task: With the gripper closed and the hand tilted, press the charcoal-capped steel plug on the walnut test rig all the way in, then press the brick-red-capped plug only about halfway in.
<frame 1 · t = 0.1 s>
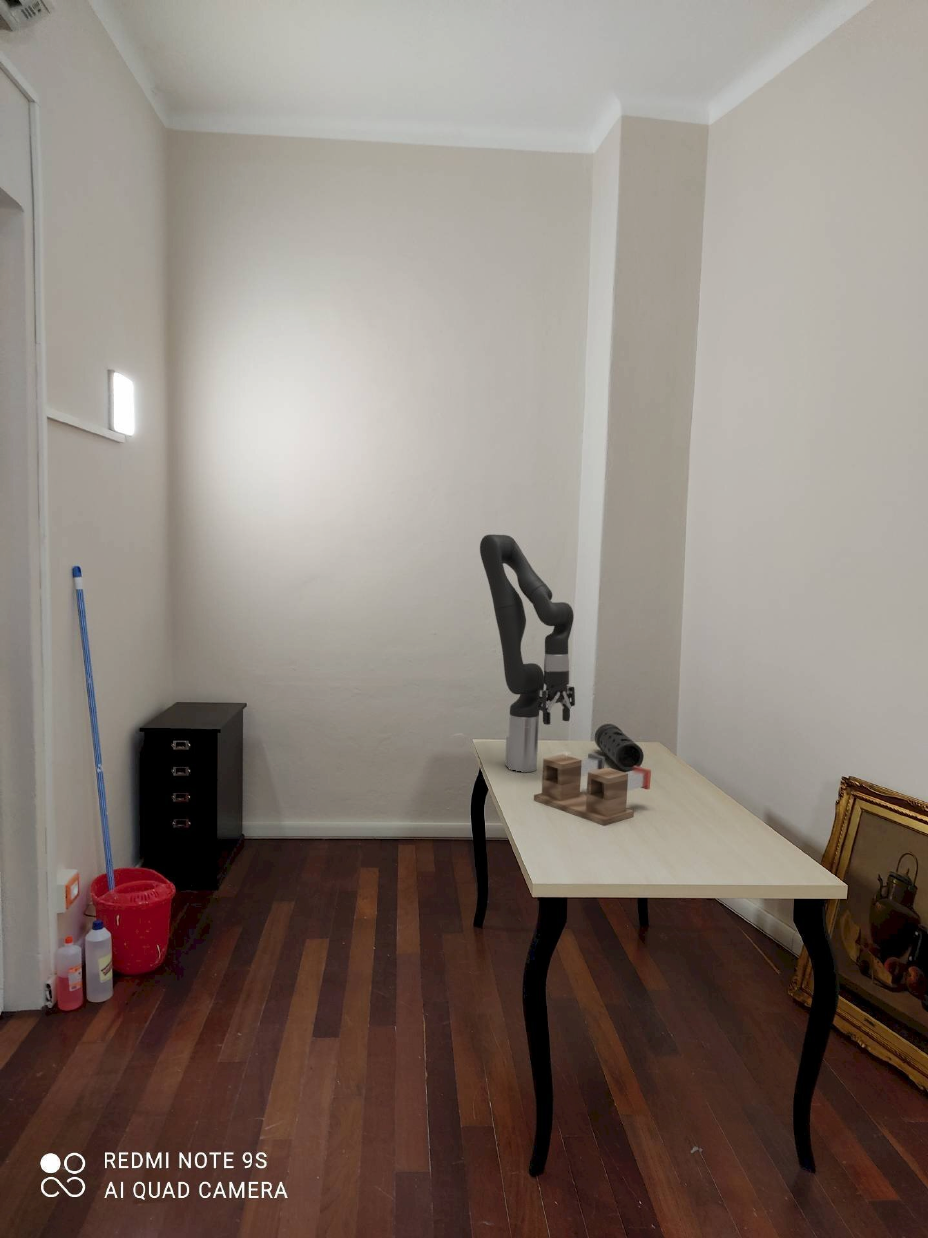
hand: (556, 722, 254), 17 cm above the table, tool pointing down, fingers open, 8 cm apart
muzzle brake: (616, 763, 278), on the table
test rig: (582, 808, 229), on the table
charcoal plug: (580, 768, 239), point 8 cm above the table, slide at 0.0 cm
red plug: (625, 781, 227), point 8 cm above the table, slide at 0.0 cm
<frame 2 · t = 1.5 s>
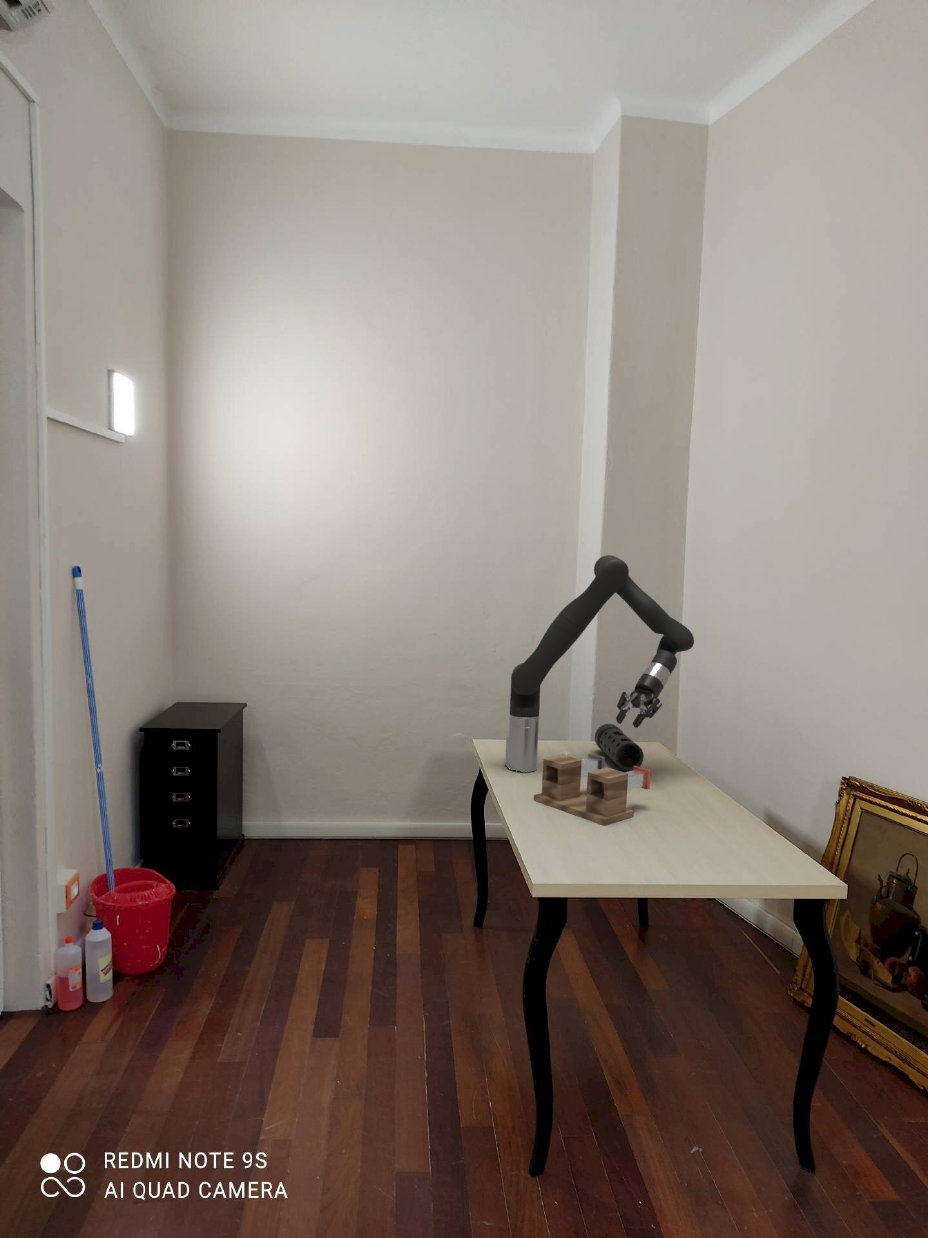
hand: (626, 723, 251), 18 cm above the table, tool tilted 45°, fingers open, 5 cm apart
nothing on the table moved.
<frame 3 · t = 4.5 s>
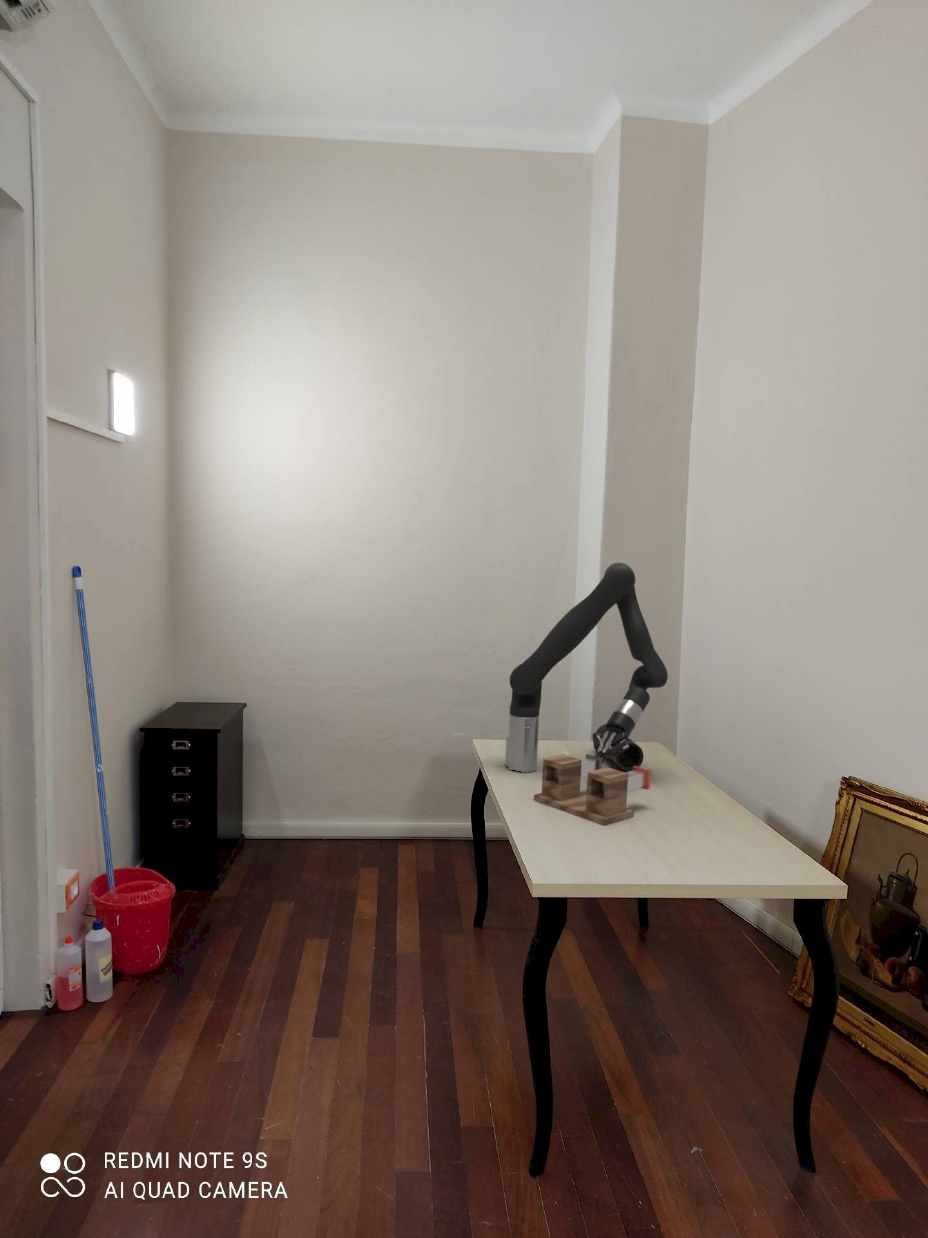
hand: (595, 764, 244), 8 cm above the table, tool tilted 45°, fingers closed
charcoal plug: (577, 768, 238), point 8 cm above the table, slide at 1.1 cm, touching gripper
everything else where it was.
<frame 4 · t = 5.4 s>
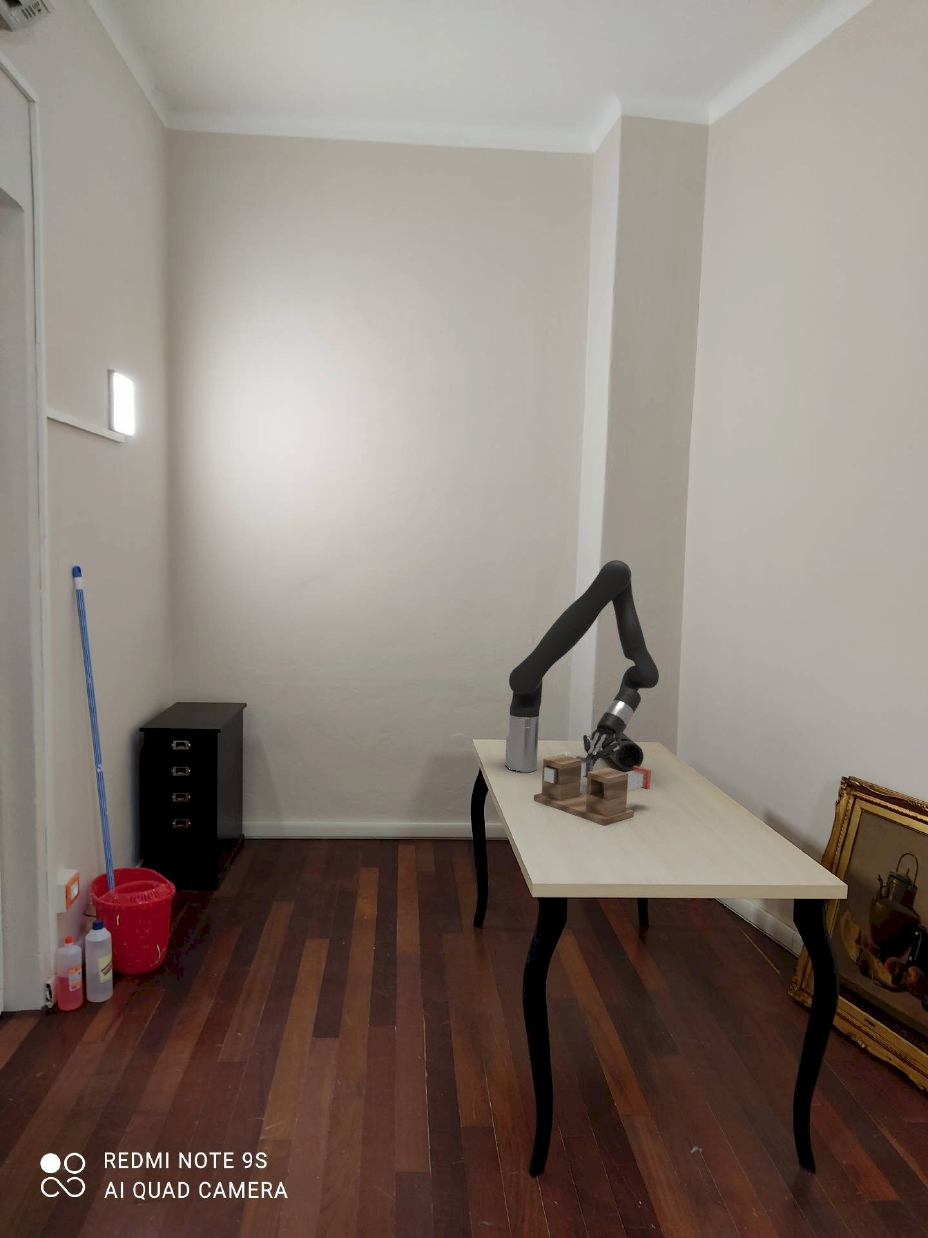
hand: (586, 767, 241), 8 cm above the table, tool tilted 45°, fingers closed
charcoal plug: (567, 771, 236), point 8 cm above the table, slide at 5.2 cm, touching gripper
everything else where it was.
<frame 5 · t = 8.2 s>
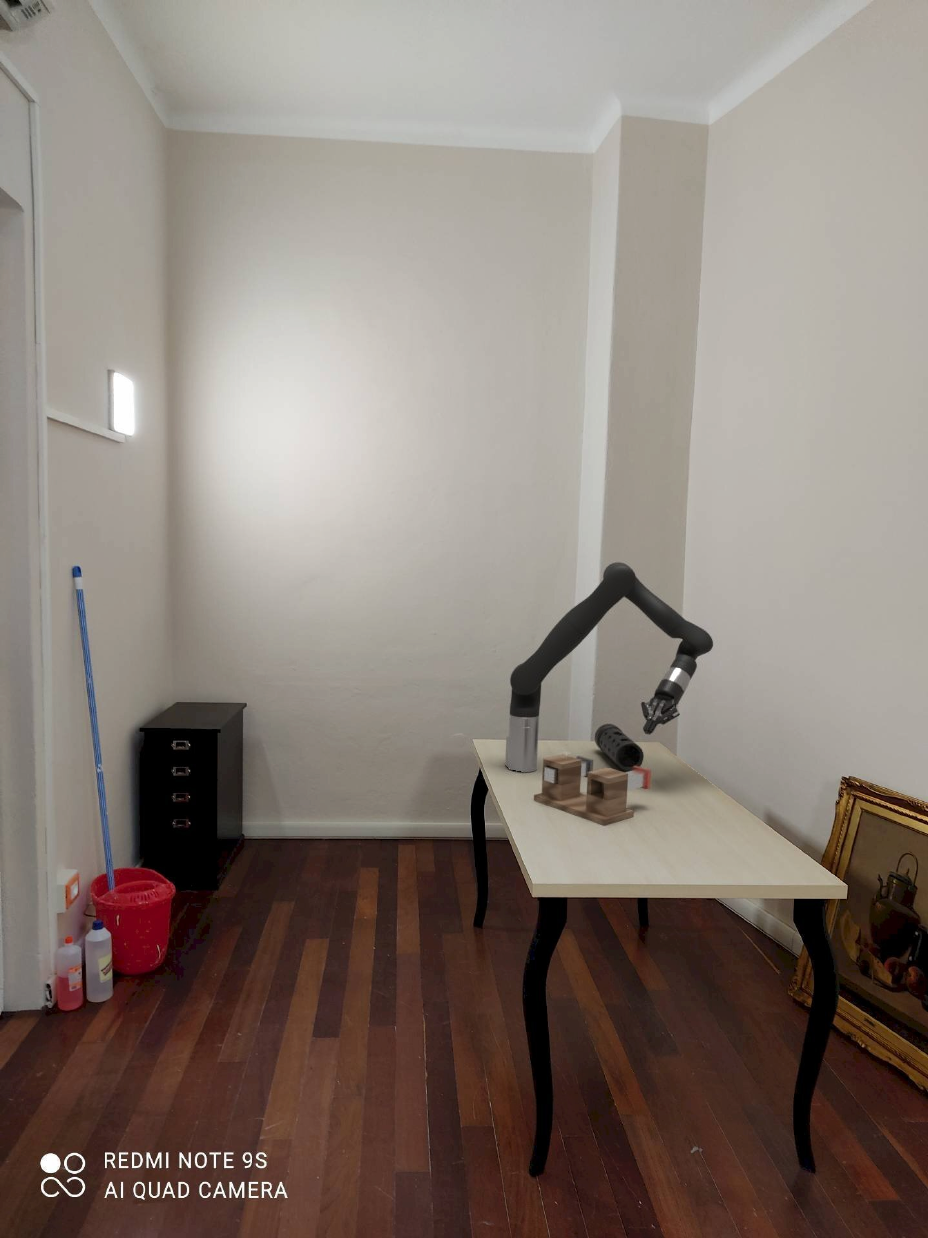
hand: (646, 732, 244), 18 cm above the table, tool tilted 45°, fingers closed
charcoal plug: (567, 771, 236), point 8 cm above the table, slide at 5.1 cm
everything else where it was.
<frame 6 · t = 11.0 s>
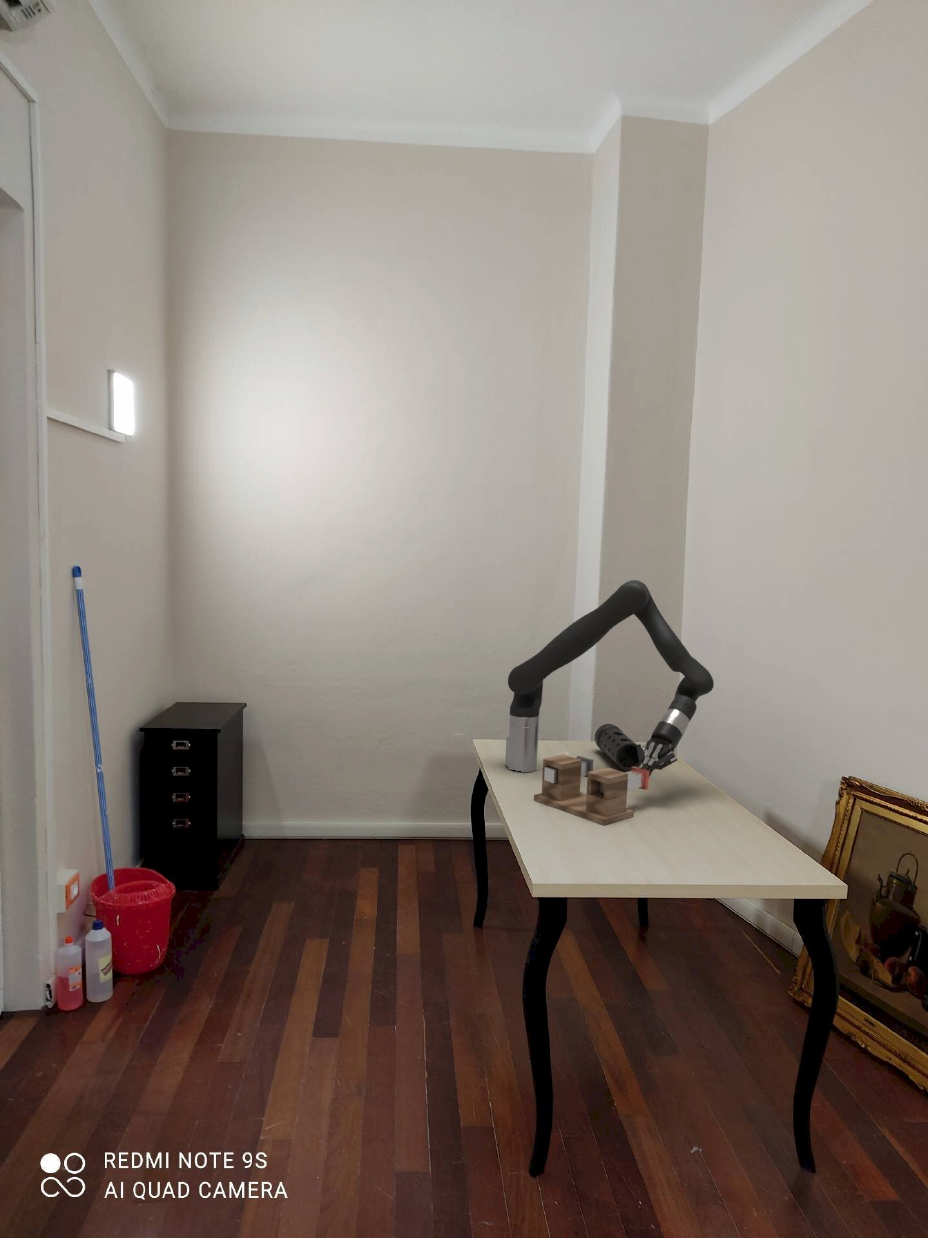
hand: (641, 778, 232), 8 cm above the table, tool tilted 45°, fingers closed
red plug: (623, 782, 227), point 8 cm above the table, slide at 0.8 cm, touching gripper
everything else where it was.
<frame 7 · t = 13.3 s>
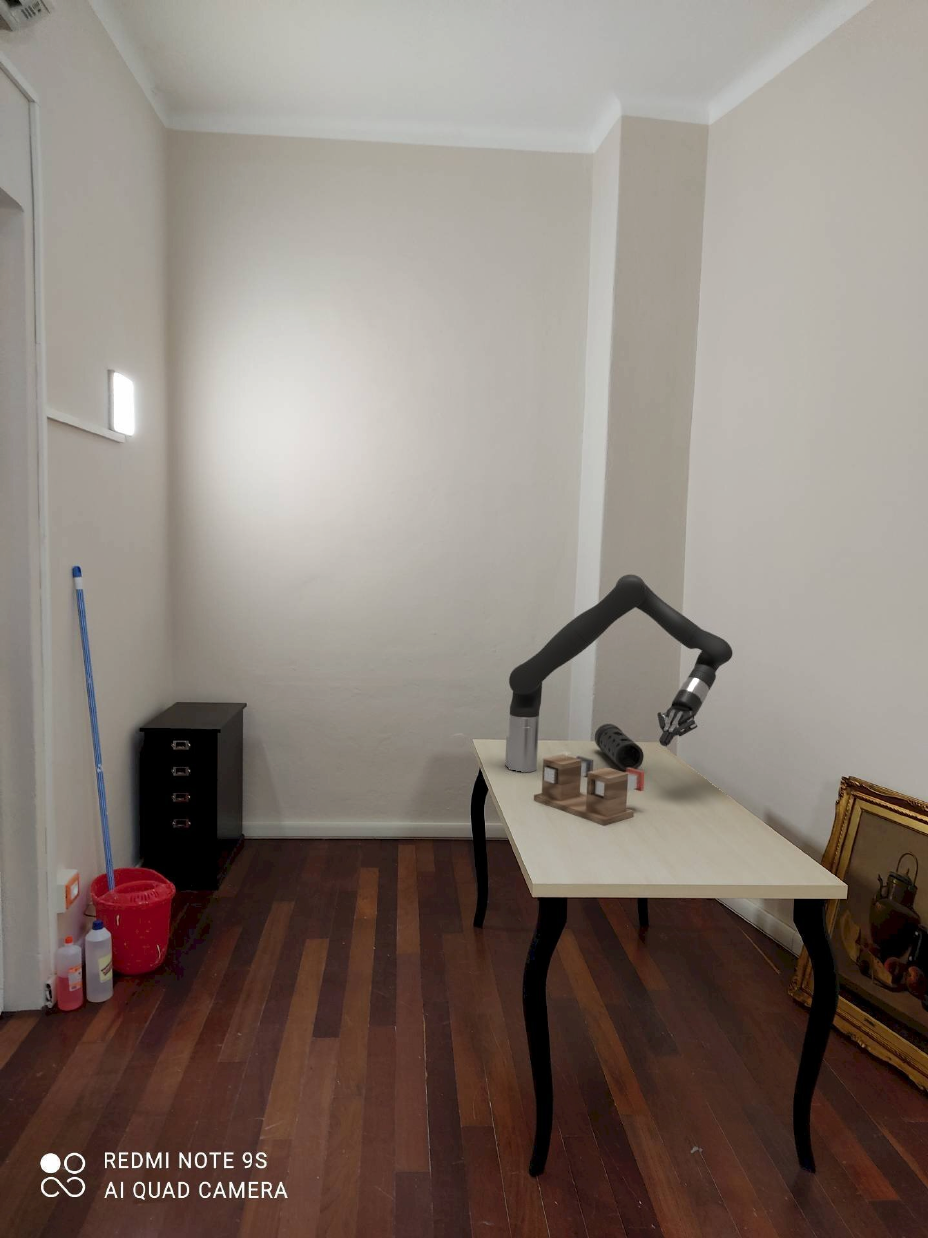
hand: (662, 744, 237), 16 cm above the table, tool tilted 45°, fingers closed
red plug: (618, 783, 225), point 8 cm above the table, slide at 2.9 cm
everything else where it was.
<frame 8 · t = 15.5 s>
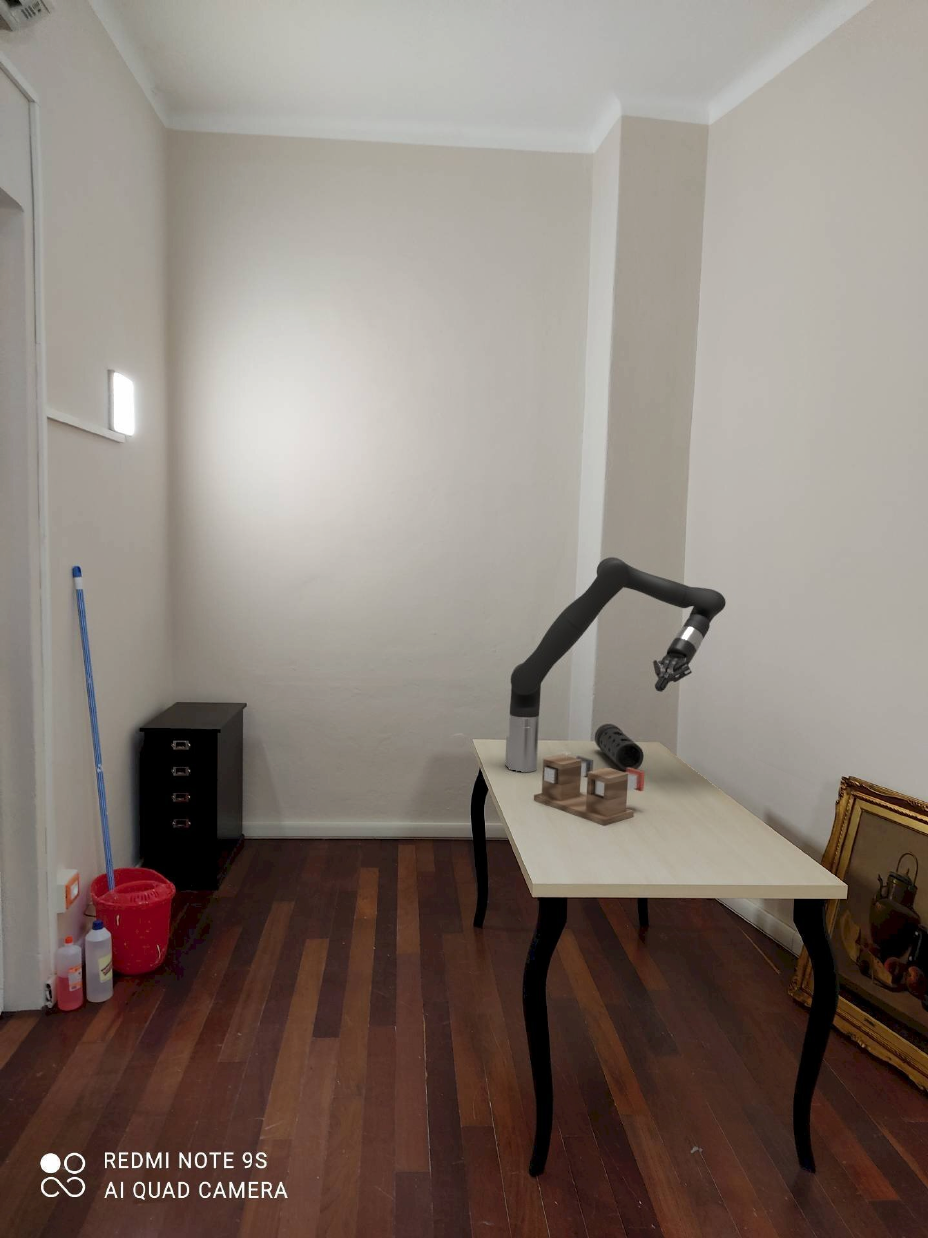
hand: (658, 689, 245), 30 cm above the table, tool tilted 45°, fingers closed
nothing on the table moved.
at the end: charcoal plug slide at 5.1 cm; red plug slide at 2.9 cm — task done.
